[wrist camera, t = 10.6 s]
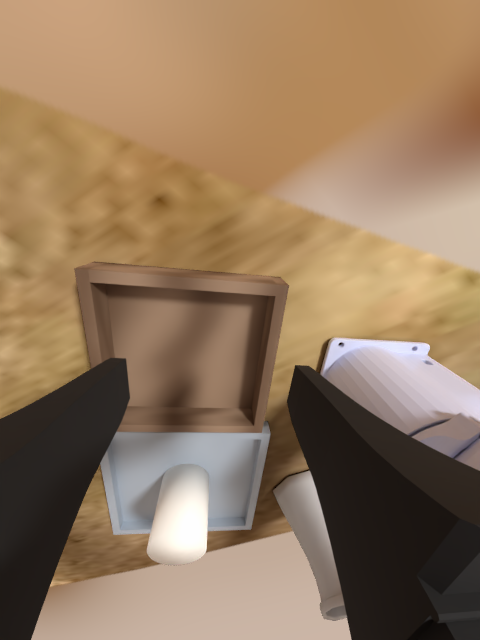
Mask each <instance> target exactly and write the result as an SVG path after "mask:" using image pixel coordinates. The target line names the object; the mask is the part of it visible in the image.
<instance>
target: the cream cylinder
mask: <svg viewBox="0 0 480 640" xmlns="http://www.w3.org/2000/svg"><path fill="white" fill-rule="evenodd" d="M208 501H209V474H208V472H207V471H206V470H205V469H204V468H202V467H200V466H198V465H195V464H179V465H176V466H173V467H171V468H170V469H168V470H167V471H166V472H165V474H164V475H163V479H162V484H161V488H160V493H159V497H158V502H157V506H156V511H155V515H154V520H153V524H152V529H151V533H150V538H149V542H148V547H147V554H148V556H149V557H150V558H151V559H152V560H154V561H156V562H158V563H161V564H165V565H184V564H188V563H192V562H194V561H196V560H198V559H200V558H201V557H202V556H203V555H204V554H205V552H206V549H207V526H208Z"/></svg>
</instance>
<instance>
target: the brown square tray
mask: <svg viewBox="0 0 480 640" xmlns="http://www.w3.org/2000/svg"><path fill="white" fill-rule="evenodd" d="M74 270H75V276H76V281H77V287H78V293H79V299H80V305H81V311H82V317H83V323H84V329H85V335H86V340H87V346H88V352H89V358H90V364H91V369H92V368H94V367H95V366H97V365H99V364H100V363H102V362H104V361H105V360H107V359H109V358H126V362H127V372H128V382H129V392H130V400H129V403H128V405H127V408H126V411H125V414H124V417H123V419H122V422H121V424H120V426H119V428H118V430H117V432H209V433H262V429H263V424H264V418H265V413H266V408H267V402H268V397H269V391H270V386H271V380H272V375H273V369H274V364H275V359H276V353H277V348H278V342H279V337H280V331H281V326H282V321H283V315H284V310H285V304H286V299H287V293H288V288H289V285H288V284H287V283H286V282H285V281H284V280H283V279H282V278H280V277H271V276H259V275H247V274H235V273H223V272H211V271H199V270H187V269H175V268H163V267H151V266H139V265H127V264H115V263H103V262H92V263H89V264H86V265H83V266H80V267H77V268H74Z"/></svg>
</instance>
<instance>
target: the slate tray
mask: <svg viewBox="0 0 480 640" xmlns="http://www.w3.org/2000/svg"><path fill="white" fill-rule="evenodd" d="M270 434H271V433H270V429H269V424H268V421H264V424H263V429H262V433H209V432H116V434H115V436H114V438H113V440H112V441H111V443H110V445H109V447H108V449H107V451H106V453H105V455H104V457H103V459H102V461H101V463H100V464H101V470H102V475H103V480H104V486H105V491H106V497H107V502H108V507H109V513H110V518H111V523H112V529H113V534H114V535H118V534H144V533H151V529H152V524H153V520H154V515H155V511H156V506H157V502H158V497H159V493H160V488H161V484H162V479H163V475H164V474H165V472H166V471H167V470H168V469H170V468H171V467H173V466H176V465H179V464H195V465H198V466H200V467H202V468H204V469H205V470H206V471H207V472H208V474H209V501H208V526H207V531H223V530H249V529H251V528H252V523H253V518H254V513H255V508H256V503H257V498H258V493H259V488H260V483H261V478H262V474H263V469H264V464H265V459H266V454H267V449H268V444H269V439H270Z"/></svg>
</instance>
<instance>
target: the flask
mask: <svg viewBox="0 0 480 640" xmlns="http://www.w3.org/2000/svg"><path fill="white" fill-rule="evenodd" d="M273 493H274V495H275V497H276V499H277V502H278V504H279V506H280V508H281V510H282V512H283V513H284V515H285V517H286V519H287V521H288V522H289V524H290V526H291V528H292V530H293V531H294V533H295V535H296V537H297V539H298V541H299V543H300V545H301V547H302V549H303V551H304V553H305V554H306V556H307V558H308V561H309V563H310V566H311V569H312V571H313V574H314V576H315V579H316V582H317V586H318V589H319V593H320V597H321V603H320V610H321V613H322V616H323V618H324V619H327V620H332V621H336V620H340V619H344V618H347V615H346V610H345V605H344V600H343V596H342V591H341V586H340V582H339V578H338V574H337V569H336V565H335V561H334V556H333V552H332V548H331V544H330V540H329V536H328V532H327V528H326V524H325V520H324V516H323V513H322V509H321V505H320V502H319V498H318V494H317V491H316V487H315V484H314V481H313V478H312V475H311V472H310V471H306V472H303V473H299V474H296V475H293V476H289V477H287V478H286V479H285V480H284V481H283V482H282V483H281V484H280V485H278V486H277V487H276V488H275V489H274V490H273Z"/></svg>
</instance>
